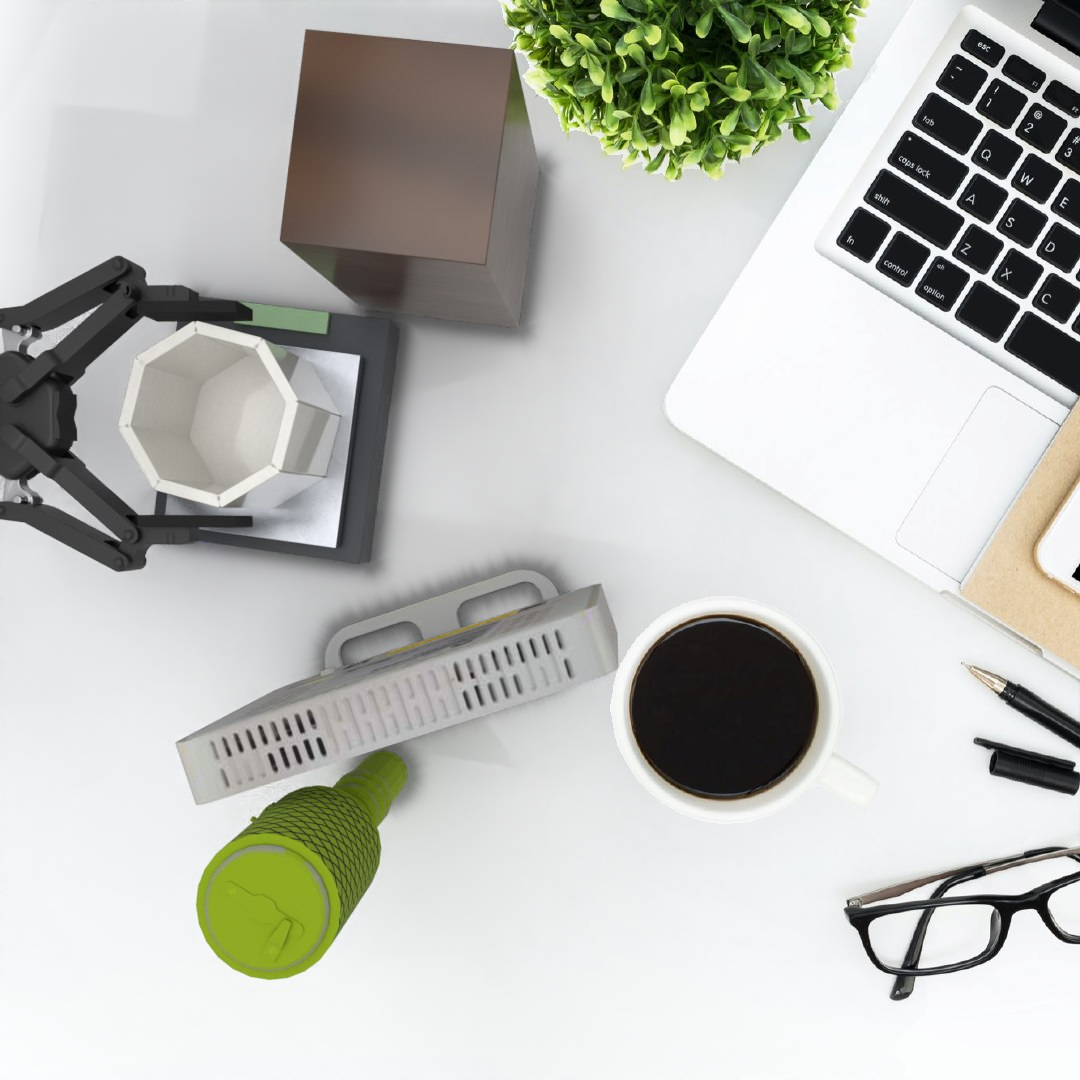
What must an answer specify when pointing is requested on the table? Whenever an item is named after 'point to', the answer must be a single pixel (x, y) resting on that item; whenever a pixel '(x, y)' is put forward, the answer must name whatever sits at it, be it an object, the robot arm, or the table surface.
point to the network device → (407, 685)
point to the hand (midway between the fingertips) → (245, 416)
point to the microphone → (298, 872)
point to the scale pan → (323, 503)
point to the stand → (413, 175)
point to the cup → (227, 418)
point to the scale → (379, 354)
